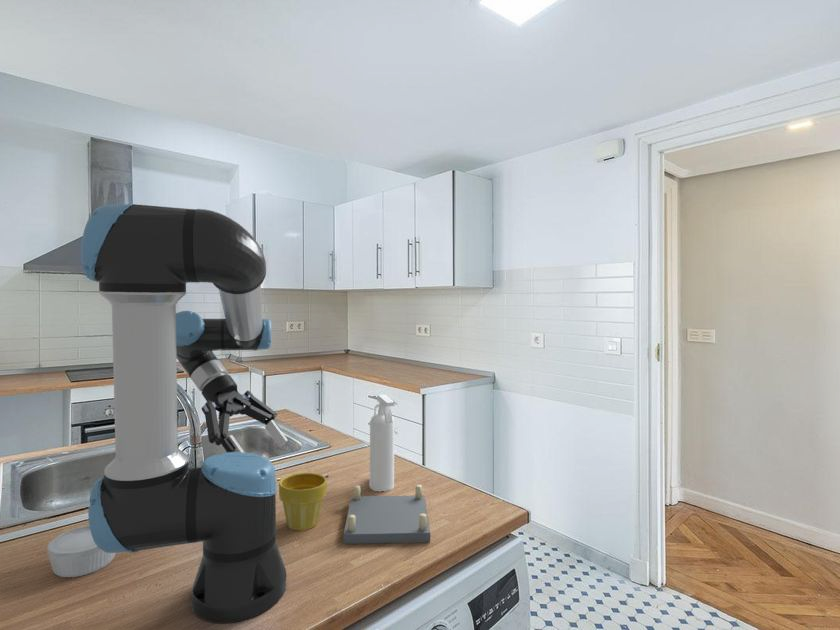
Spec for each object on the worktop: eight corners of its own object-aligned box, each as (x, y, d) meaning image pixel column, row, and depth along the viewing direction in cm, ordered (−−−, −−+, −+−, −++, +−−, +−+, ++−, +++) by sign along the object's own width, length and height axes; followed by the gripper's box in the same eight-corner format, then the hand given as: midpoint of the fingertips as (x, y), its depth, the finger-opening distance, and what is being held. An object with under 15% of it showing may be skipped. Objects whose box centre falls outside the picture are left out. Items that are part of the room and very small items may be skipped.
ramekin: (109, 541, 95) (109, 516, 94) (129, 562, 87) (129, 535, 87) (40, 566, 86) (39, 538, 86) (56, 590, 79) (56, 560, 79)
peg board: (430, 542, 96) (430, 518, 96) (343, 543, 95) (343, 520, 94) (424, 503, 114) (424, 483, 113) (351, 504, 113) (351, 484, 112)
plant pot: (324, 510, 109) (324, 470, 109) (328, 531, 99) (328, 487, 99) (279, 515, 107) (279, 474, 106) (278, 538, 97) (278, 492, 96)
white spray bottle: (384, 474, 131) (384, 388, 129) (401, 492, 120) (401, 399, 118) (362, 478, 128) (361, 391, 126) (377, 497, 118) (376, 402, 116)
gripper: (243, 384, 124) (289, 446, 119) (161, 404, 101) (214, 482, 96) (259, 366, 122) (306, 428, 117) (179, 381, 99) (233, 460, 94)
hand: (265, 452), depth 106 cm, fingers open, 13 cm apart
